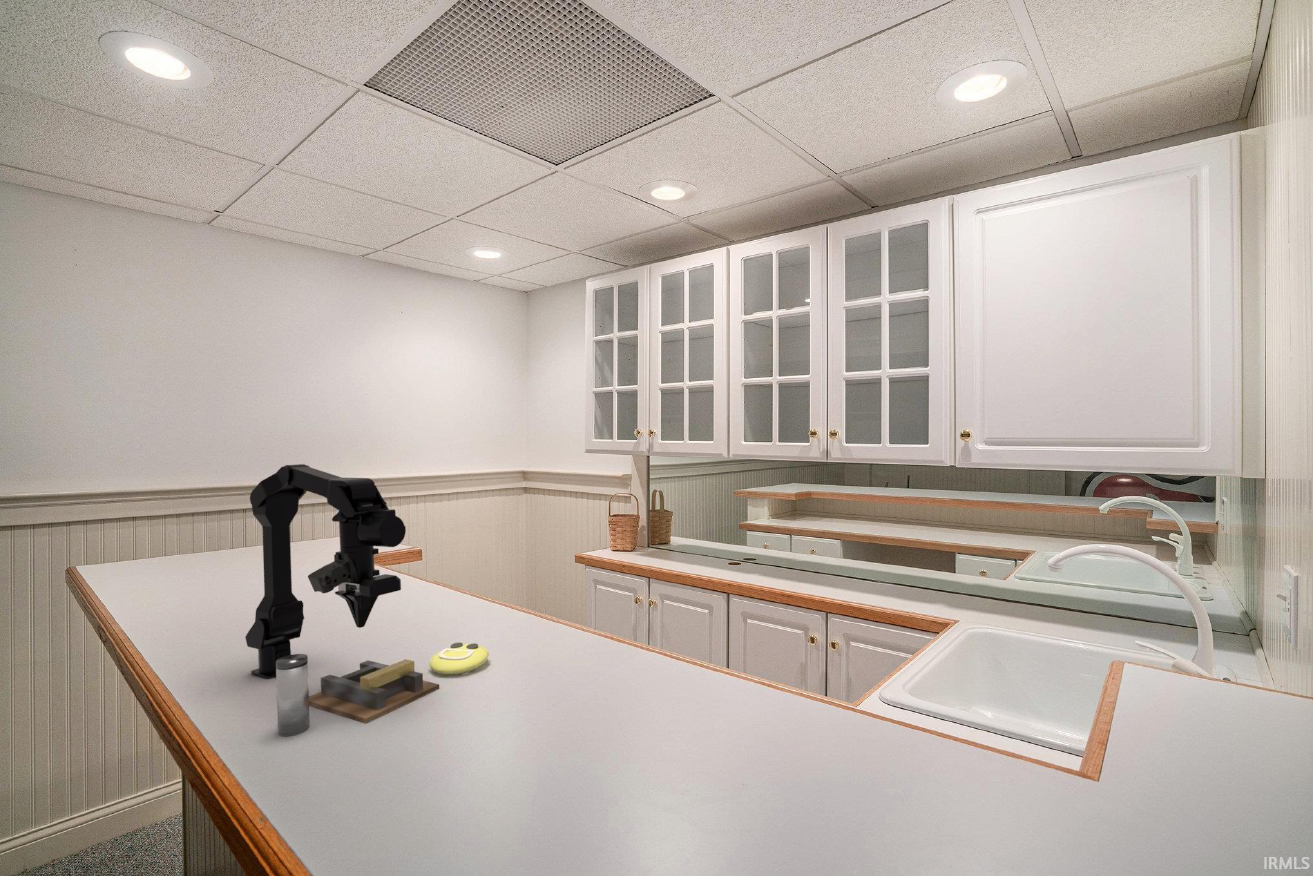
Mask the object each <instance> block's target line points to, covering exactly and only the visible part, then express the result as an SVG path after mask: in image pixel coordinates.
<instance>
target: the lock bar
mask: <svg viewBox="0 0 1313 876" xmlns="http://www.w3.org/2000/svg"><path fill="white" fill-rule="evenodd" d="M412 672H416V671H415V661H414V660H411V659H406V658H405V659H403V660H401V661H398V662H396V663H393V664H390V665H389V666H387V667H385V668H382V669H380V670H377V671H375V672H372V673H370V674H367V675H365V676H362V677H360V687H361V689H365V690H368V691H370V690H372V689H375V688H377V687H379V686H382V685H384V684H386V683H389V682H391V681H393V680H396V679H398V678H401V677H403V676H405V675H408V674H410V673H412Z"/></svg>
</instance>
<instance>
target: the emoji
mask: <svg viewBox="0 0 1313 876" xmlns="http://www.w3.org/2000/svg"><path fill="white" fill-rule="evenodd" d="M489 655H490V653H489V651H488V649H487V648H485V647H484V646H481V645H479V644H478V643H476V642H475V643H469V644H468V643H467V644H465V643H463V642H454V643H452V644H451V645H450V647H447V648H443V649H442V650H440V651H439V652H437V653H436V654H434V655H433V656H432V657H431V659H430V661H429V663H428V664H429V667H430V669H431V670H432V671H433V672H434V673H436V674H437V673H438V674H443V675H467V674H468V673H470V672H471V671H472V670H475V669H477V668H479V667H480V666H482V665H483V664H485V663H486V661H487V660H488V658H489Z"/></svg>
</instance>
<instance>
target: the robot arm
mask: <svg viewBox="0 0 1313 876" xmlns="http://www.w3.org/2000/svg"><path fill="white" fill-rule="evenodd" d="M307 492H309V493H312V494H315V495H317V496H321V497H324V498H325V499H326V502H327V504H328V505H330V507H332V508H334V509H336V510H338V512H337V513H336V514H334V516H333V517H332V518H331V521H332V522H335V523H336V522H338V530H339V550H340V551H336V552H335V554H334V555H333V558H334V559H333V560H334V561H331V562H330V563H328V564H326V565H323V566H322V567H320V568H318V569H317V570H315V571H313V572H311V573H310V574H308V575H307V578H308V580H309V583H310V585H311V587H312V589H313V591H314V592H315V593H317V592H320V593H321V594H327V593H330V592H332V591H333V590H334V589H335V588H338V590H336V591H334V594H335V595H337V596H338V597H340V598H342V599H344V600H345V601H346V604H347V606H348V609H349V610H350V613H351V615H352V618H353V621H354V623H355V626H356V628H359V629H360V628H364V627H365V625H366V623H367V622H368V619H369V617H370V614H371V613H372V610H373V607H374V605H375V603H376V602H377V600H378V598H379V597H380V596H383V595H387V594H391V593H395V592H400V591H401V590H402V583H401V582H402V581H401V579H400V577H399V576H397V575H394V574H386V573H385V574H380V569H375V555H378V554H379V548H377V547H382V548H395V547H398V546H399V545H400V544H401V543H402V542H403V540H404V538H405V537H406V530H407V529H406V525H405V523H404V521H403V520H402V518H400V517H399V516H396V515H397V514H396V513H397V512H396V510H395V509H390V508H389V507H388V505H387V502H386V500H385V499H384V498H383V495H382V494H381V493H380V491H379V489H378V487H377V485H376V484H375V481H374V480H373V479H371V478H369V477H343V476H342V477H341V476H338V475H335V474H332V473H329V472H327V471H326V472H325V471H322V470H319V469H317V468H313V467H311V466H309V465H308V464H307V465H306V464H305V463H300V464H285V465H283V466H281V467H280V468H278V470H277V471H276V472H275V473H273V474H272V475H270V476H268V477H266V478H264V479H263V480H261V481H259V483H258V484H257V485H255V486H254V489H252V490H251V492H250V494H249V495H250V496H249V502H250V504H251V510H252V514H253V516H254V517H255V519H256V520H257V521H258V522H259V524H260V525H261V528H262V553H263V554H262V558H263V559H262V560H263V589H264V591H263V593H264V595H263V598H262V599H261V600H260V603H259V604H258V605H257V608H256V609H255V618H254V619H255V620H254V623H253V624H252V626H251V627H250V629H249V630H248V631H247V633H246V635H245V637H244V638H245V641H246V646H247V647H248V648H252V649H254V650H255V649H256V650H257V653H258V654H257V657H258V668H256V669H253V670H251V671H250V673H251V674H253V675H255V676H259V677H262V678H265V679H270V678H273V677H276V661H277V660H278V659H280V658H282V657H285V656H288V655H292V650H291V640H293V639H297V638H298V639H299V638H300V637H301V633H302V629H303V625H304V620H305V615H304V602H303V601H302V600H300V599H299V600H298V598H297V597H296V596H295V594H294V593H293V584H292V580H293V579H292V553H291V552H292V551H291V549H292V548H291V547H292V546H291V524H292V522H293V520H294V518H295V517H296V516H297V513H298V512H299V504H300V500H301V498H302V497H304V495H305V494H306V493H307Z"/></svg>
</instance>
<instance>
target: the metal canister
mask: <svg viewBox="0 0 1313 876" xmlns="http://www.w3.org/2000/svg"><path fill="white" fill-rule="evenodd" d="M308 657H309V655H308V654H305V653H295V654H291V655H288V656H285V657H282V658H280V659H278V660H277V661H276V676H275V677H276V705H277V707H276V708H277V710H276V711H277V714H276V715H277V734H278V736H280V737H293V736H297V735H301V734H302V733H305V732H306V731H308V730H309V729H310V728H311V727H310V726H311V724H310V721H311V720H310V705H309V696H310V693H309V690H310V689H309V658H308Z"/></svg>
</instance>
